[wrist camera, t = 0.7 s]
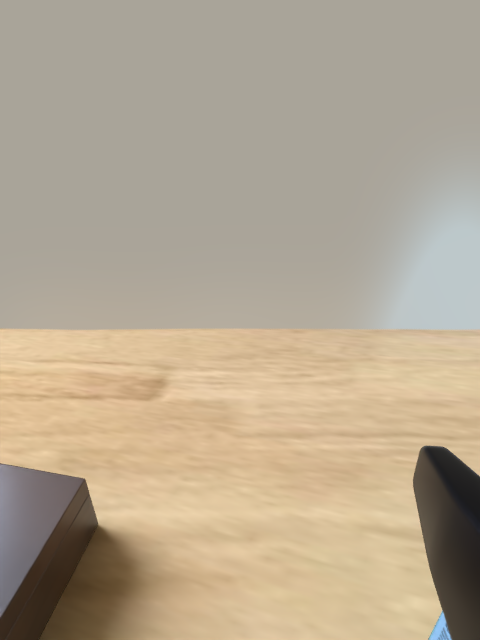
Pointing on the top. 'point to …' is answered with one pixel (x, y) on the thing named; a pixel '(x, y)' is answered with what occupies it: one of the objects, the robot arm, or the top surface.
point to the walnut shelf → (39, 544)
